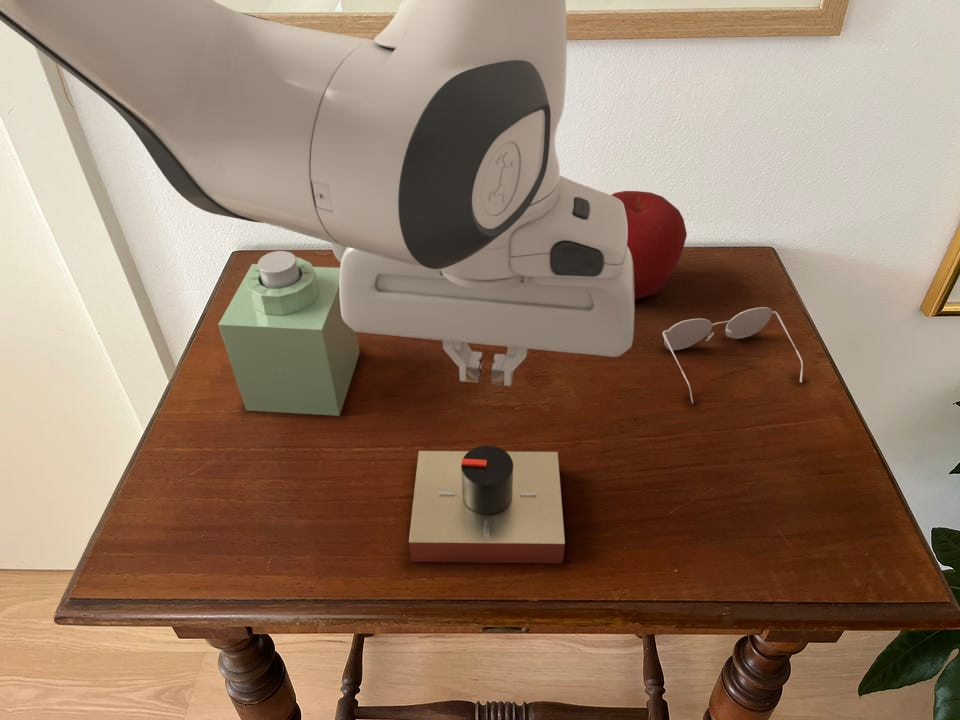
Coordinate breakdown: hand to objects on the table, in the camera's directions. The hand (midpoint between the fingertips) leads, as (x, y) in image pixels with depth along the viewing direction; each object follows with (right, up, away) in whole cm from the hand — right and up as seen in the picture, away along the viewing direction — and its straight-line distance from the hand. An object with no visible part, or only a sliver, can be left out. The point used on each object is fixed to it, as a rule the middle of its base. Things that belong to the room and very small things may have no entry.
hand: (486, 378), depth 54 cm
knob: (0, -10, +9) cm, 14 cm away
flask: (-20, -1, +25) cm, 32 cm away
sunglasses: (+27, 0, +26) cm, 37 cm away
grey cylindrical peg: (-20, +9, +16) cm, 27 cm away
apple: (+18, +10, +36) cm, 42 cm away
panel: (0, -13, +11) cm, 17 cm away
